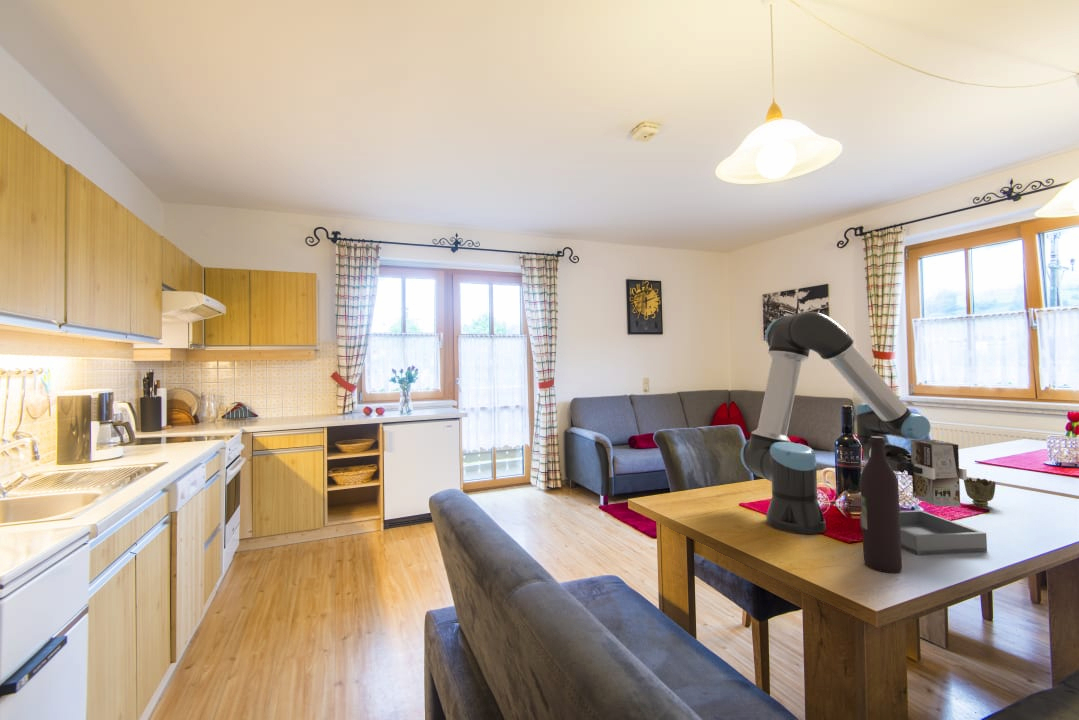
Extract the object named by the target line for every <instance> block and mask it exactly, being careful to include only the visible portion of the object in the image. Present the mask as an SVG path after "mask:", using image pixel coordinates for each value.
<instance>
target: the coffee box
mask: <svg viewBox="0 0 1079 720" xmlns="http://www.w3.org/2000/svg"><path fill="white" fill-rule="evenodd" d="M910 454H911V463H912V464H913V466H914V464H920V465H923V466H927V467H930V468H933V469H935V479H929V478H926V477H923V476H920V475H917V474H914V472H913V476H911V478H912V479H911V481H912V497H913V498H915V499H917V500H920V501H923V502H924V503H926V504H929V505H932V506H934V507H953V508H955V507H956V508H960V507H961V487H960V485H961V484H960V479H959V467H960V460H959V459H960V458H959V457H960V456H959V444H957V443H952V442H948V441H943V440H937V439H920V440H914V439H910Z"/></svg>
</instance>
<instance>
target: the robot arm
mask: <svg viewBox="0 0 1079 720" xmlns="http://www.w3.org/2000/svg"><path fill="white" fill-rule="evenodd" d="M764 336H765V337H764V338H765V342H766V343H767V346H768V347H769V349H768V354H769V356H770V357H771V363H770V367H769V372H768V377H767V380H766V381H767V383H766V387H765V390H764V391H765V392H764V396H763V401H762V405H761V410H760V417H759V420H758V425H757V428H756V429H755V430H752V431H751V433H750V438H749V439H748V440H747V441H746V442H745V443H743V445H742V446H741V449H740V460H741V463H742V465H743V466H744V468H745V469H746V470H747V471H748V472H749V473H752V475H755V476H756V477H759V478H762V479H765V480H767V481H769V482H771V499H770V502H769V505H768V509H767V512H766V523H767V524H768V525H769V526H770V527H772V528H774V529H777V530H779V531H783V532H788V533H792V534H800V535H814V534H815V535H817V534H822V533H825V531H826V530H827V526H826V519H825V516H824V515H823V512H822V510H821V509H822V508H821V506H820V504H819V501H818V479H817V477H818V476H817V475H818V473H817V465H818V462H817V459H816V453H815V451H814V449H812V447H810V446H808V445H804V444H802V443H795V442H792V441H791V440H790V438H789V437H788V431H789V425H790V420H791V416H792V415H791V414H792V412H793V410H792V409H793V405H794V400H795V398H796V397H795V396H796V393H797V392H796V391H797V387H798V381H799V376H800V372H801V367H802V364H803V362H806V361H807V360H808V359H809V355H810V350H811V351H813V352H816V353H817V355H819V356H820V358H821V359H822V360H824V361H825V360H827V361H829V362H830V363H831V365H832V366H833V367H834V368H835V369H836V370H837V372H838V373H840V375H841V376H842V377H843V378H844V379H845V381H846V382H847V383H848V384H849V385H850V386H851V387H852V388H853V390H854V391H855V392H856V393H857V394H858V396H860V397H861V398H862V400H863V401H864V402H865V403H861V402H860V403H858V404H857V405H856V410H855V411H856V412H855V413H856V414H855V418H856V419H855V420H856V438H857V437H858V438H859V440H860V443H861V445H862V449H863V460H862V461H863V462H866V463H867V462H868V460H869V458H870V455H871V444H870V440H869V439H870V438H871V436H879V437H884V439H885V440H886V436H891V437H895V438H900V439H905V440H924V439H925V438H926V437H927V436H928V435H929V434H930V432H931V422H930V420H929V419H928V418H927V417H926V416H924V415H921V414H918V413H913V412H912V411H911V410H910V409H909V408H908V407H907V406H906V404H905V403H904V402H903V401H902V400H901V399H900V398H899V396H898V395H897V394H896V393H895V392H894V390H892V389H891V387H890V386H889V384H887V383H886V382H885V380H884V379H883V378H882V377H881V376H880V374H879V373H878V372H877V371H876V370H875V368H873V366H872V365H871V364H870V363H869V362H868V360H867V359H866V358H865V357H864V356H863V355H862V353H861V352H860V351H859V350H858V349H857V348H856V346H854V343H855V339H854V338H853V337H852V336H851V335H850V334H849V333H848V332H847V331H846V329H845V328H843V327H842V326H841V325H840V324H839V323H838V322H836V321H835V320H833V319H832V318H831V317H829V316H828V315H826V314H823V313H820V312H817V311H806V312H802V313H798V314H797V313H796V314H792V315H791V314H790V315H789V314H788V315H783V316H781V317H779V318H776V319H773V321H771V323H769V324H768V326H767V328H766V330H765V335H764ZM884 452H885V457H886V460H887V461H888V463H889V465H890V466H891V468H892V469H893V471H894V472H899V473H905V472H907V476H911V477H912V476H913V472H914V474H917V475H920V476H923V477H926V478H929V479H935V469H933V468H930V467H927V466H923V465H920V464H914V466H913V464H912V463H911V452H909V451H908V449H906V448H905V447H902V446H899V445H894V444H891V443H887V442H885V445H884ZM967 475H968V474H967V469H966V468H963V467H961V466H959V480H962V481H964V480H967V479H968V476H967Z"/></svg>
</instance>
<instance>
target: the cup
mask: <svg viewBox="0 0 1079 720" xmlns="http://www.w3.org/2000/svg"><path fill="white" fill-rule="evenodd" d="M963 483H964V489H965V492H966V495H967V496H968V497H969V499H971V500H972V504H973V505H975V506H978V507H988V506H989V502H991V501H992V500H994V498H995V491H996V481H993V480H989V481H988V479H987V478H982V479H981V478H979V477H977V478H976V479H972V478H971V477H969V478H967V480H963Z"/></svg>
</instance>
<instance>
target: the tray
mask: <svg viewBox="0 0 1079 720" xmlns="http://www.w3.org/2000/svg"><path fill="white" fill-rule="evenodd" d="M859 518H860V520H859V521H860V529H861V530H862V512H860V516H859ZM900 533H901V549H903V550H905V551H907V552H909V553H912V554H914V555H916V556H925V555H926V556H928V555H943V554H944V555H947V554H948V555H949V554H965V553H968V554H969V553H982V552H983V553H984V551H987V552H988V545H987V544H988V540H987V538H988V537H987V532H984V531H981V530H978V529H976V528H972V527H970V526H967V525H963V524H961V523H958V522H956V521H952V520H949V519H946V518H944V517H941V516H938V515H936V514H932V513H930V512H927V511H924V510H921V509H920V510H917V509H915V510H900Z"/></svg>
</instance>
